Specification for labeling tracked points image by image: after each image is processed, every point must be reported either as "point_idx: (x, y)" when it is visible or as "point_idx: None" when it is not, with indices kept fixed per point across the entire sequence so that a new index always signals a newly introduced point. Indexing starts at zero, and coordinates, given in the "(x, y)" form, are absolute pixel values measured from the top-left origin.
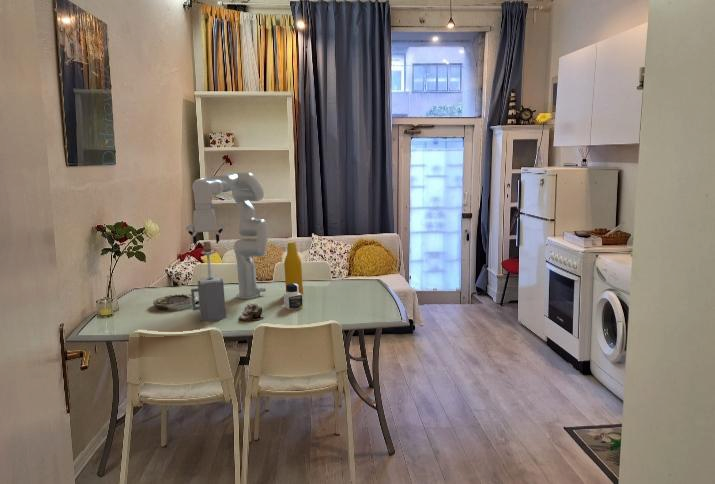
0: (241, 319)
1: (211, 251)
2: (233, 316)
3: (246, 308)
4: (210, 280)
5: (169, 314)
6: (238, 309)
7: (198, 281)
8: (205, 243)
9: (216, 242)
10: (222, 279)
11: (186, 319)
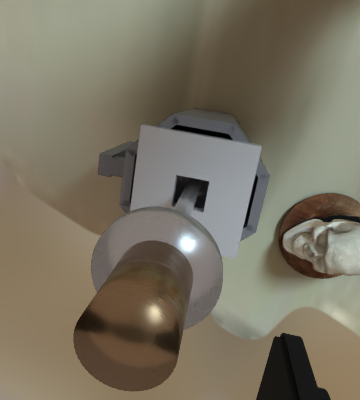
0: (281, 249)
1: (189, 306)
2: (273, 182)
3: (313, 257)
4: None
5: (65, 7)
6: (323, 99)
7: (130, 156)
8: (101, 372)
9: (261, 390)
10: (263, 194)
11: (117, 119)
